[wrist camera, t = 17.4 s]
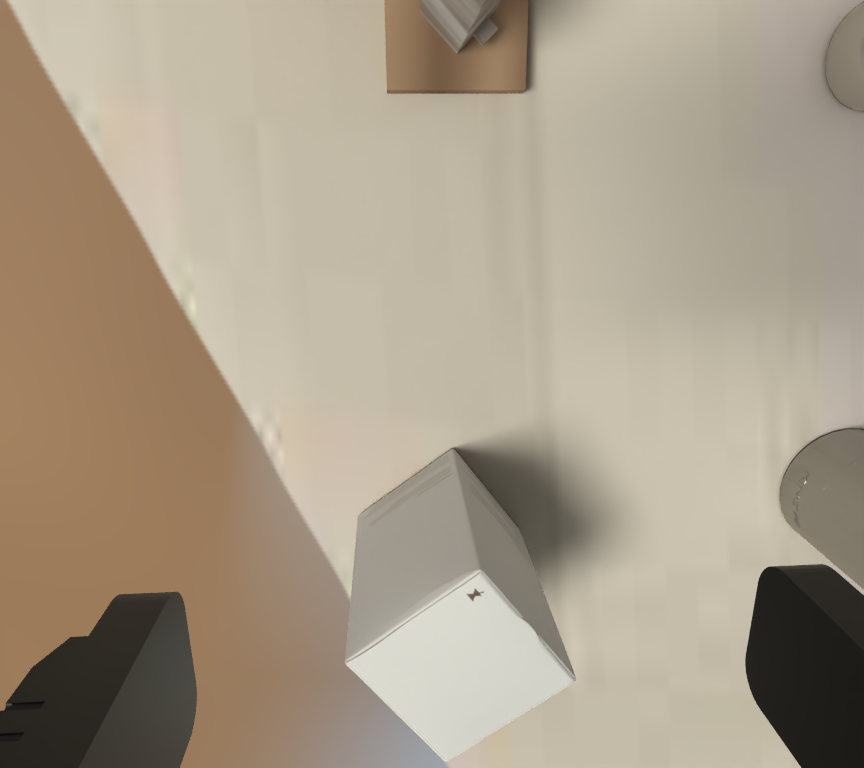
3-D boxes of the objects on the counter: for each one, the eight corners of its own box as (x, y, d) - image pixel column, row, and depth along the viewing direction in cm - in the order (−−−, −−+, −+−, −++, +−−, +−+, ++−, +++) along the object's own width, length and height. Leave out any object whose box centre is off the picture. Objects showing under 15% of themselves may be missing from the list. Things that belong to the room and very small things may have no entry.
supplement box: (353, 515, 46) (336, 663, 32) (452, 444, 45) (482, 565, 31) (427, 598, 49) (443, 770, 35) (524, 533, 48) (581, 683, 33)
